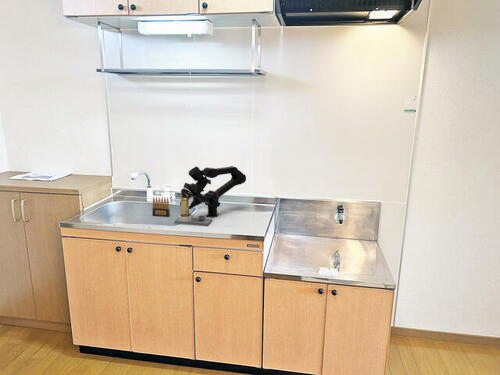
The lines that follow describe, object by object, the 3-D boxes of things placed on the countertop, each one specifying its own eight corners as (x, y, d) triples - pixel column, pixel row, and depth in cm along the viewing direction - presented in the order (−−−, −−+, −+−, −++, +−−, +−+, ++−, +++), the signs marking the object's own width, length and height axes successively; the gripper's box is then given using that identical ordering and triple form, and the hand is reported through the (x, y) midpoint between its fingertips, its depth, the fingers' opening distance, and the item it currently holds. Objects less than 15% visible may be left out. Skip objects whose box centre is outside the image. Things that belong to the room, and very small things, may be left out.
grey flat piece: (179, 218, 221) (179, 212, 221) (212, 221, 218) (212, 214, 217) (174, 223, 213) (174, 216, 212) (208, 226, 210) (208, 219, 209)
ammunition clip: (170, 216, 226) (169, 197, 224) (169, 217, 225) (168, 198, 222) (153, 215, 228) (152, 196, 226) (152, 216, 226) (151, 197, 224)
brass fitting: (189, 218, 218) (189, 196, 215) (188, 220, 214) (188, 198, 211) (182, 218, 218) (181, 196, 215) (180, 220, 214) (180, 198, 211)
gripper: (182, 175, 220) (167, 196, 216) (201, 180, 207) (184, 202, 202) (194, 186, 227) (179, 206, 223) (212, 191, 214) (197, 213, 209)
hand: (184, 207), depth 214 cm, fingers open, 9 cm apart
